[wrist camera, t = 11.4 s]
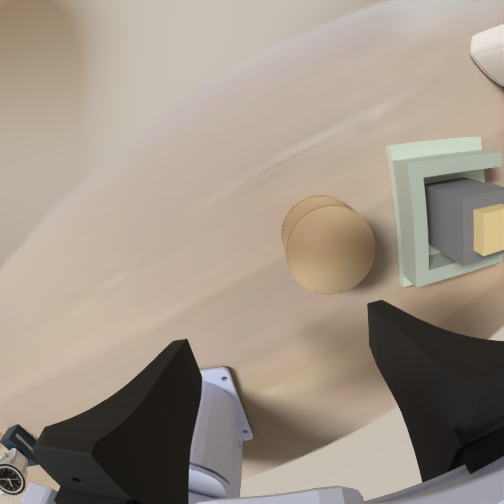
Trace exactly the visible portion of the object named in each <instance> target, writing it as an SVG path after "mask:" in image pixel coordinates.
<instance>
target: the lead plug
mask: <svg viewBox="0 0 504 504" xmlns="http://www.w3.org/2000/svg"><path fill="white" fill-rule="evenodd" d="M424 188H425V198H426V210H427V225H428V243H429V244H430V245H432V246H433V247H435V248H436V249H438V250H439V251H441V252H443V253H444V254H446V255H447V256H449V257H450V258H451V259H453V260H454V261H456V262H457V263H459V264H460V265H462V266H466V265H469V264H473V263H476V262H479V261H482V260H485V259H489V258H492V257H495V256H498V255H501V254H504V187H501V186H498V185H494V184H490V183H486V182H482V181H478V180H474V179H469V178H465V177H464V178H458V179H452V180H446V181H440V182H434V183H428V184H424Z"/></svg>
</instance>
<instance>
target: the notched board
mask: <svg viewBox="0 0 504 504" xmlns="http://www.w3.org/2000/svg"><path fill="white" fill-rule="evenodd" d="M385 148H386V153H387V160H388V166H389V173H390V180H391V187H392V195H393V204H394V213H395V223H396V235H397V248H398V265H399V283H400V284H401V285H402V286H403V287H407V286H411V285H414V286H415V287H416V288H417V287H421V286H424V285H428V284H431V283H435V282H438V281H441V280H445V279H448V278H451V277H455V276H458V275H461V274H464V273H468V272H471V271H474V270H477V269H480V268H483V267H486V266H489V265H492V264H495V263H498V262H501V261H502V254H501V255H498V256H495V257H492V258H489V259H485V260H482V261H479V262H476V263H473V264H469V265H466V266H462V265H460V264H459V263H457V262H456V261H454V260H453V259H451V258H450V257H449V256H447V255H446V254H444V253H443V252H441V251H439V250H438V249H436V248H435V247H433V246H432V245H430V244H429V243H428V225H427V210H426V198H425V188H424V184H428V183H434V182H440V181H446V180H452V179H458V178H464V177H465V178H469V179H474V180H478V181H482V182H485V175H484V169H486V168H493V167H501V166H502V164H501V154H500V152H497V151H488V150H482V145H481V138H480V136H470V137H457V138H446V139H435V140H426V141H417V142H408V143H400V144H392V145H385Z"/></svg>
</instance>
